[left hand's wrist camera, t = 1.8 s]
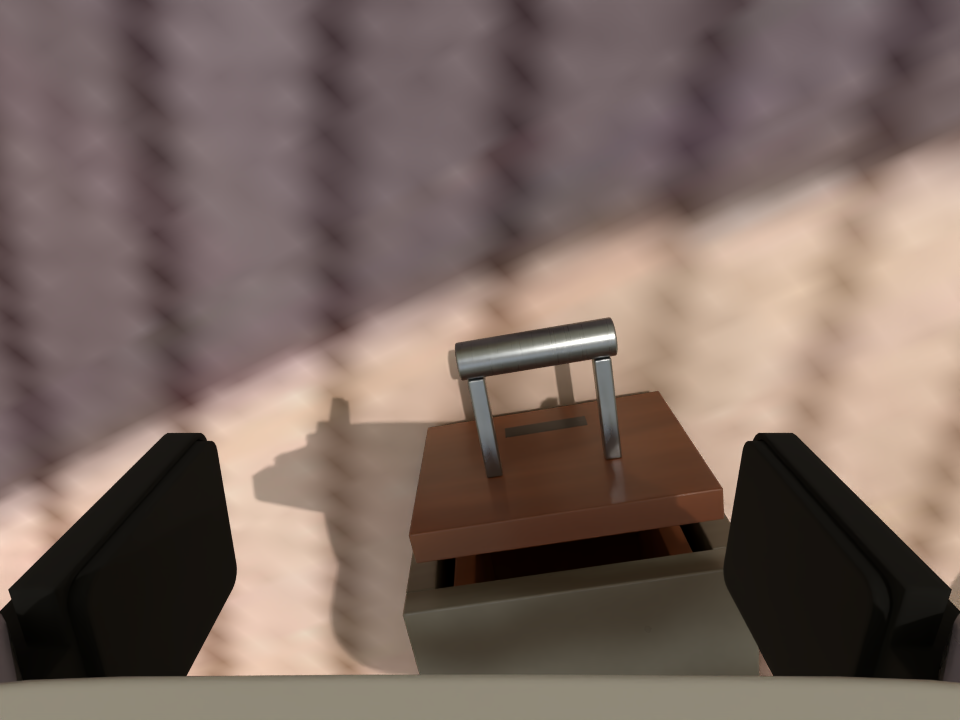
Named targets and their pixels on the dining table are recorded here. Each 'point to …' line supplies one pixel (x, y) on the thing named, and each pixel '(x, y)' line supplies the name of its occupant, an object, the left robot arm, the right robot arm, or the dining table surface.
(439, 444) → the drawer
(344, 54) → the dining table surface
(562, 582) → the grey storage box
